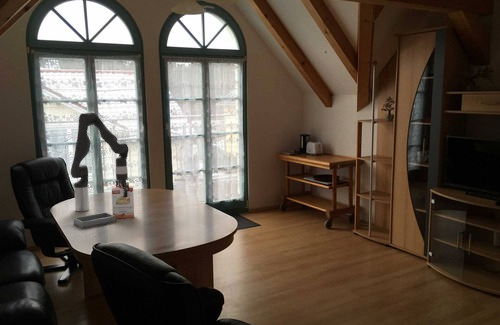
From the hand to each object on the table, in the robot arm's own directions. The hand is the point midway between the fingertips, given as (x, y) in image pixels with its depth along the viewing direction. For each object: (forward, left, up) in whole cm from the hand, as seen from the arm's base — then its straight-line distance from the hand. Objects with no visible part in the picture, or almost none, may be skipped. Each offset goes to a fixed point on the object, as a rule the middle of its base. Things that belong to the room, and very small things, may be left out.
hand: (122, 196), depth 282 cm
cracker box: (0, 0, -15) cm, 15 cm away
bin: (0, -20, -15) cm, 25 cm away
